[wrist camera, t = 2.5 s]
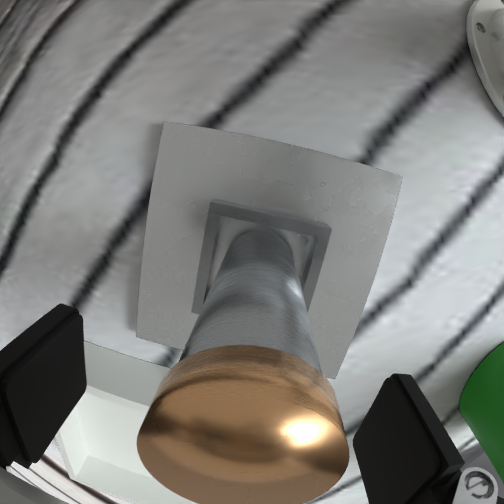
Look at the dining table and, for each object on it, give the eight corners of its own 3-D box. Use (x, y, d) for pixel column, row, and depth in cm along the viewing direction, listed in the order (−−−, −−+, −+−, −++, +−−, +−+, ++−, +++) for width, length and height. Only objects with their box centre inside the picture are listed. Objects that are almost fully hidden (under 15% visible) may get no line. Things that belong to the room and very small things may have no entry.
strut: (305, 236, 18) (386, 411, 5) (286, 306, 19) (307, 517, 6) (228, 219, 18) (134, 367, 5) (215, 291, 19) (140, 490, 6)
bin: (330, 398, 22) (339, 440, 18) (275, 498, 27) (275, 531, 22) (65, 333, 22) (35, 362, 18) (85, 451, 26) (70, 478, 22)
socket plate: (396, 176, 18) (413, 178, 15) (332, 370, 21) (338, 392, 19) (169, 123, 17) (155, 118, 15) (141, 329, 21) (128, 348, 19)
